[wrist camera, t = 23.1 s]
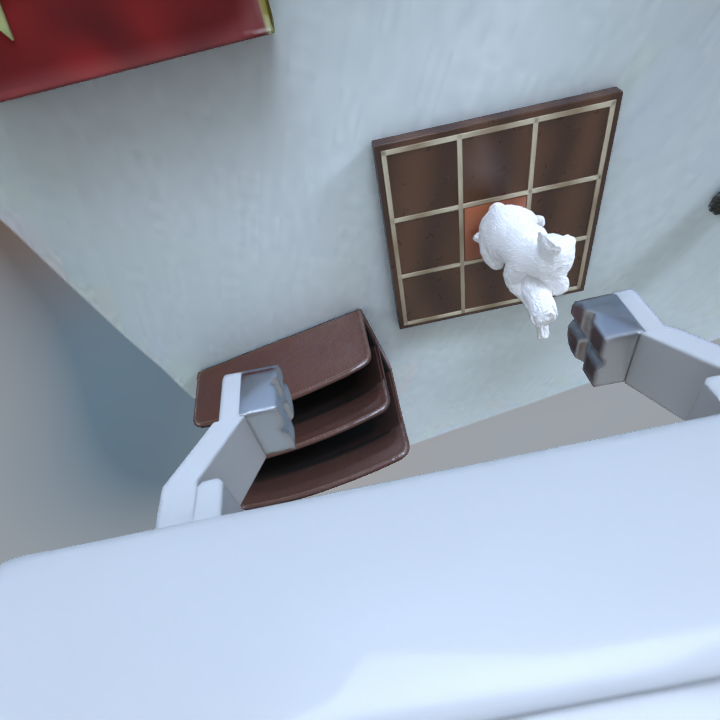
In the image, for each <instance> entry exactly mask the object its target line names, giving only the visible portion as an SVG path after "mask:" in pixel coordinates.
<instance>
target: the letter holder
mask: <svg viewBox="0 0 720 720" xmlns="http://www.w3.org/2000/svg"><path fill="white" fill-rule="evenodd" d="M274 365H279V366H280V369H281V371H282V373H283V382H284V383H286V384H287V385H288V388H289V390H290V393H291V397H292V402H293V408H294V417H293V418H292V420H291V422H292V424H293V427H294V429H295V449H292V450H287V451H283V452H279V453H274V454H270V455H266V459H265V461H264V462H263V464H262V466H261V468H260V470H259V472H258V473H257V475H256V477H255V479H254V481H253V483H252V485H251V486H250V488H249V490H248V492H247V494H246V496H245V498H244V499H243V501H242V503H241V505H240V506H241V508H242V509H243V510H251V509H256V508H261V507H266V506H270V505H275V504H280V503H285V502H290V501H294V500H298V499H301V498H305V497H308V496H311V495H314V494H317V493H320V492H323V491H326V490H329V489H332V488H334V487H337V486H340V485H342V484H345V483H348V482H350V481H353V480H356V479H358V478H361V477H363V476H366V475H368V474H370V473H373V472H375V471H378V470H380V469H382V468H384V467H386V466H389V465H391V464H393V463H395V462H397V461H399V460H401V459H402V458H403V457H405V456H406V455H407V453H408V451H409V447H410V446H409V440H408V437H407V433H406V429H405V424H404V421H403V417H402V412H401V408H400V404H399V399H398V395H397V391H396V386H395V382H394V378H393V373H392V368H391V366H390V364H389V362H388V360H387V358H386V356H385V354H384V352H383V350H382V348H381V346H380V344H379V342H378V341H377V339H376V337H375V335H374V333H373V331H372V329H371V327H370V325H369V323H368V321H367V320H366V318H365V316H364V314H363V312H362V311H361V309H359V310H357V311H354V312H352V313H349V314H346V315H344V316H342V317H339V318H337V319H333V320H331V321H328V322H326V323H323V324H321V325H318V326H315V327H313V328H310V329H308V330H306V331H303V332H300V333H298V334H295V335H292V336H290V337H287V338H285V339H282V340H279V341H277V342H274V343H272V344H269V345H267V346H264V347H262V348H259V349H256V350H254V351H252V352H249V353H246V354H243V355H241V356H239V357H236V358H234V359H231V360H228V361H226V362H223V363H221V364H219V365H216V366H213V367H211V368H208V369H206V370H203V371H201V372H199V373H198V376H197V380H198V381H197V390H196V400H195V410H194V420H193V421H194V424H195V425H196V426H197V427H201V428H204V427H210V426H211V425H212V424H213V423H214V422H218V421H219V413H220V402H221V391H222V380H223V378H224V376H225V375H227V374H233V373H238V372H243V371H247V370H252V369H258V368H263V367H268V366H274Z"/></svg>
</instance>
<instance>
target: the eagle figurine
mask: <svg viewBox="0 0 720 720" xmlns="http://www.w3.org/2000/svg"><path fill="white" fill-rule="evenodd" d="M709 207H710V209H709V211H711V212H714V213H713V214H715V215H719V214H720V193H718V194H717V197H715V198H713V199H712V203H711V204H710V205H709Z"/></svg>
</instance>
